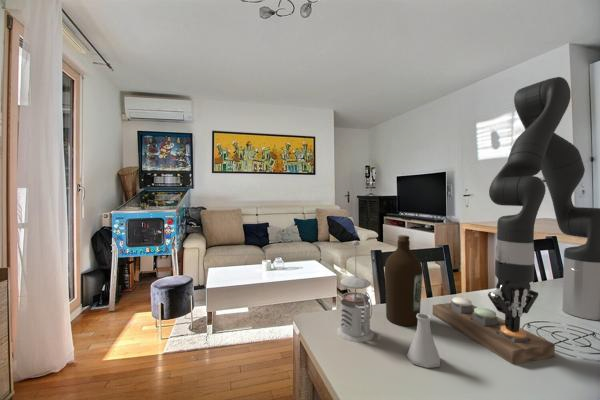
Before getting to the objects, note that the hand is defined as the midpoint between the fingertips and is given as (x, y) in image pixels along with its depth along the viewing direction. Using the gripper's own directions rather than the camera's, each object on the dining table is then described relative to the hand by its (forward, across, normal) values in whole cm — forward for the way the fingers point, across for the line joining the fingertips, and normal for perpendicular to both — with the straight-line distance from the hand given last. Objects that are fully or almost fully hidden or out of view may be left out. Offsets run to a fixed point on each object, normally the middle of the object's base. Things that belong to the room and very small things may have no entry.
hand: (512, 330), depth 69 cm
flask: (+5, +24, -1) cm, 24 cm away
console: (+4, 0, -8) cm, 9 cm away
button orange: (+4, 0, 0) cm, 4 cm away
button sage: (+3, 0, -8) cm, 8 cm away
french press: (+5, +34, -15) cm, 37 cm away
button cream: (+2, 0, -16) cm, 16 cm away
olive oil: (+5, +17, -20) cm, 26 cm away
